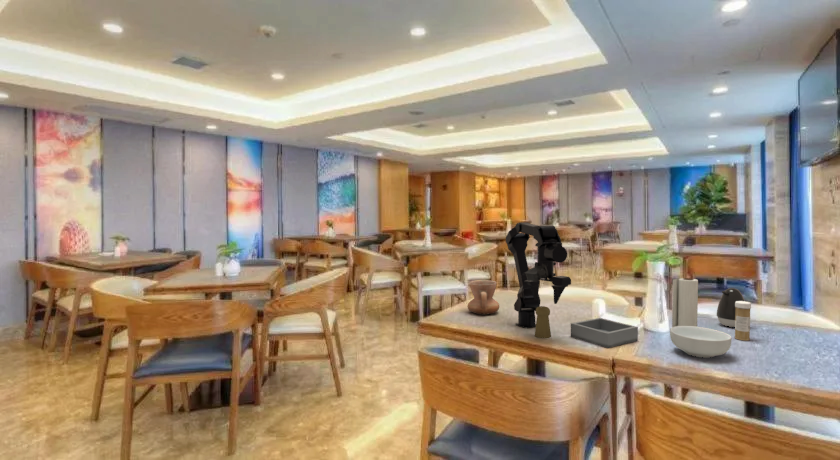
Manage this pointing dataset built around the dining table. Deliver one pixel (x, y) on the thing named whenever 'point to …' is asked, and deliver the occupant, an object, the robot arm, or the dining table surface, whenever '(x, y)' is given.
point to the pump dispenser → (728, 306)
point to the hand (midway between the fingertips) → (545, 301)
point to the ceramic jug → (483, 297)
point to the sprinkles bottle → (742, 320)
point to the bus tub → (604, 332)
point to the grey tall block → (685, 302)
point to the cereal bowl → (700, 341)
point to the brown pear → (542, 322)
